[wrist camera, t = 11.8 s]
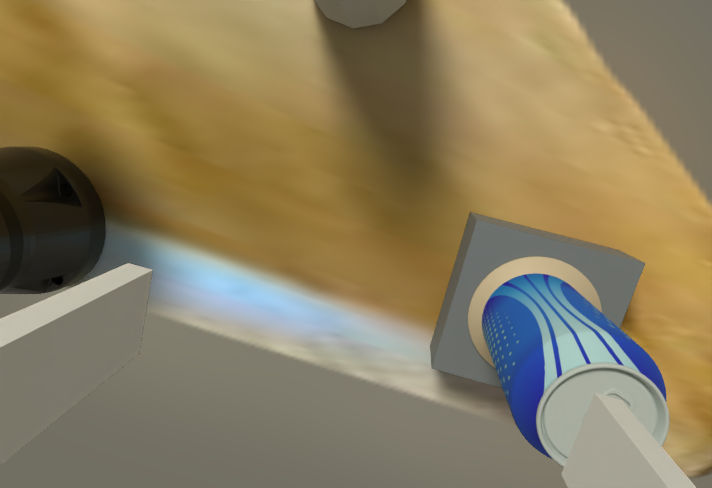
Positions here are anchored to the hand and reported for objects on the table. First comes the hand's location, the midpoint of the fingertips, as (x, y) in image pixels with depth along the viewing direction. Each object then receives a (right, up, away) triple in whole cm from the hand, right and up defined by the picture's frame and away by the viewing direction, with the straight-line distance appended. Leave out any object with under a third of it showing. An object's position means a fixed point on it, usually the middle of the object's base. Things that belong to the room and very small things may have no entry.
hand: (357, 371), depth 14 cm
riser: (+16, -2, +32) cm, 36 cm away
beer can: (+15, -2, +27) cm, 31 cm away
